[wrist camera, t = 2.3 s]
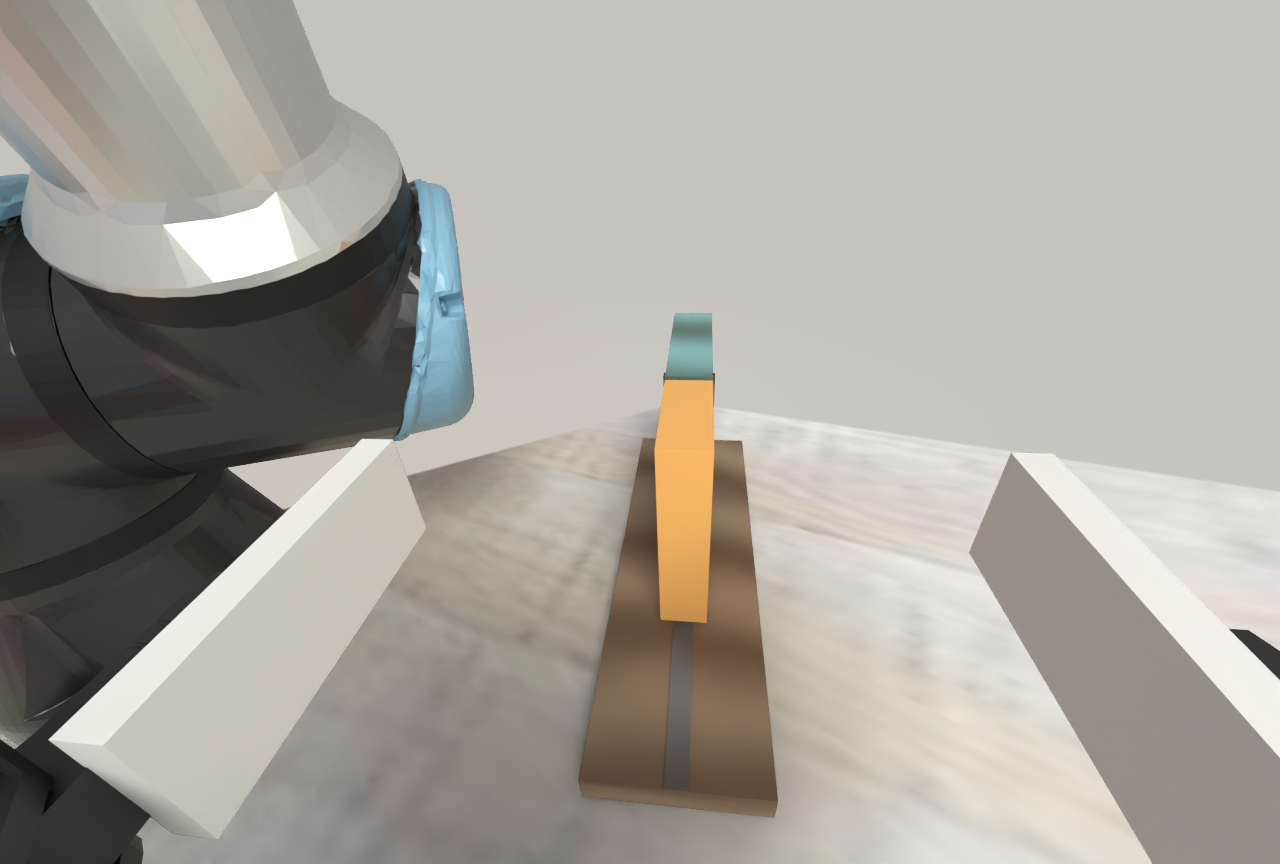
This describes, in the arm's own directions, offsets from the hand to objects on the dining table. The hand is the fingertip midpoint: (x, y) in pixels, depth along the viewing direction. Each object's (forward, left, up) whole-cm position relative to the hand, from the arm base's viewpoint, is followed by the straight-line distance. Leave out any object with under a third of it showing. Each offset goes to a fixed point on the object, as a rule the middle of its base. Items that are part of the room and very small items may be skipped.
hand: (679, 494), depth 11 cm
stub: (-4, +10, -15) cm, 19 cm away
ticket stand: (-5, +12, -17) cm, 21 cm away
